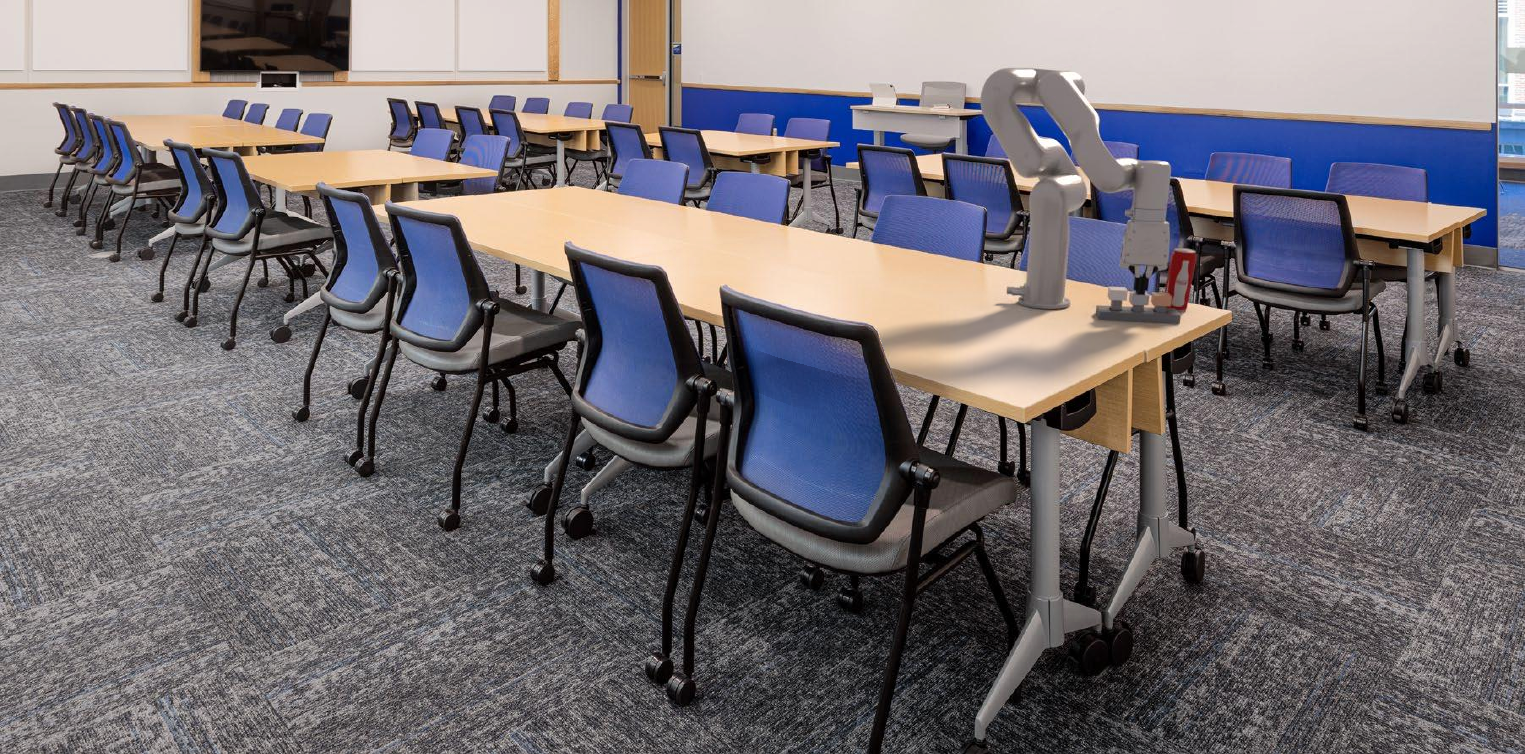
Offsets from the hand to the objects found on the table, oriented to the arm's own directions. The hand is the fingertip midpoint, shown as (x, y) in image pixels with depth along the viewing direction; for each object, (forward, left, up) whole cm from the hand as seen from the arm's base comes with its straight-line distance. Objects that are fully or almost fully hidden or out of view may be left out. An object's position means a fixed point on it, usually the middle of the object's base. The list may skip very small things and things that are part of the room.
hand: (1140, 293), depth 245 cm
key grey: (0, 0, -5) cm, 5 cm away
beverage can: (+11, +11, -6) cm, 17 cm away
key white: (-5, 0, -4) cm, 7 cm away
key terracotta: (+5, 0, -5) cm, 7 cm away
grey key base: (0, 0, -6) cm, 6 cm away
